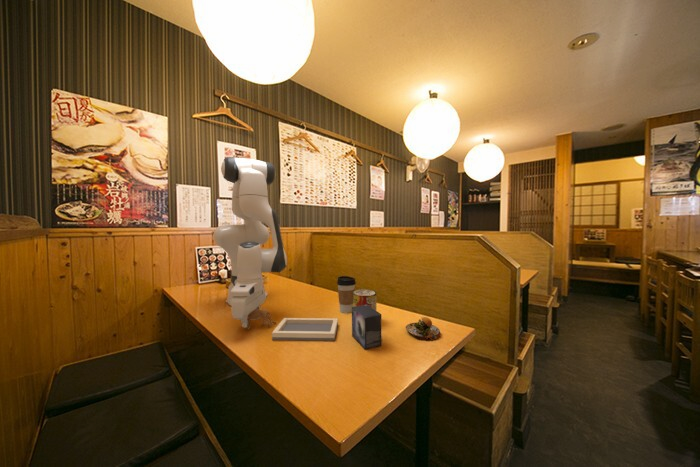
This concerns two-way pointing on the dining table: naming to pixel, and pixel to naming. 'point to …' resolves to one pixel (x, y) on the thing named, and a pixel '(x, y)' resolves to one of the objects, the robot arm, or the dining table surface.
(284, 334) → the picture frame
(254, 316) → the lion figurine
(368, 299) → the yellow food can
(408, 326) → the plate of food
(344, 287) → the coffee cup
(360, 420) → the dining table surface
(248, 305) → the robot arm
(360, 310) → the small box
